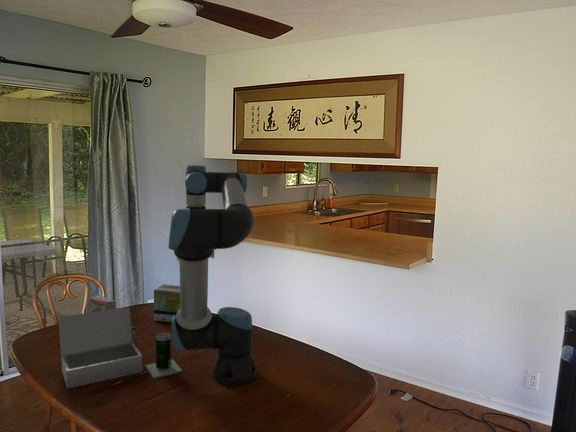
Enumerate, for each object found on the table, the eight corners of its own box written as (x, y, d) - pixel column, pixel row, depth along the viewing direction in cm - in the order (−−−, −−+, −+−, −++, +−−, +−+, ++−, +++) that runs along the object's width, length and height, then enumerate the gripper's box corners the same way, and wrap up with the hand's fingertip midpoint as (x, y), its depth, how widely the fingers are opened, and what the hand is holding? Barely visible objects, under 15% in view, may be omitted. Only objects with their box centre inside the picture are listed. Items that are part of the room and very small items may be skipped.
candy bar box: (89, 336, 192) (88, 298, 190) (100, 332, 196) (99, 295, 194) (106, 343, 186) (105, 303, 184) (117, 339, 190) (116, 300, 188)
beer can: (173, 364, 168) (173, 332, 166) (169, 371, 162) (169, 338, 161) (158, 364, 168) (157, 332, 166) (153, 371, 162) (153, 338, 161)
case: (146, 371, 163) (145, 320, 161) (66, 388, 150) (64, 334, 148) (133, 351, 179) (132, 305, 176) (60, 366, 165) (58, 316, 163)
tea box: (153, 321, 211) (152, 289, 209) (162, 314, 221) (162, 283, 219) (184, 324, 208) (184, 292, 206) (193, 316, 218) (193, 286, 216)
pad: (182, 372, 164) (182, 370, 163) (153, 378, 158) (153, 376, 158) (172, 360, 172) (172, 359, 172) (145, 366, 167) (145, 365, 167)
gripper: (221, 203, 190) (221, 254, 193) (161, 205, 177) (161, 260, 180) (229, 205, 184) (228, 258, 187) (167, 207, 171) (167, 264, 174)
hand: (195, 259), depth 183 cm, fingers open, 13 cm apart
